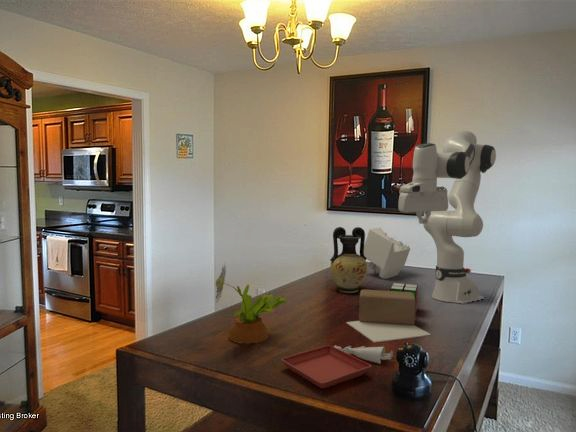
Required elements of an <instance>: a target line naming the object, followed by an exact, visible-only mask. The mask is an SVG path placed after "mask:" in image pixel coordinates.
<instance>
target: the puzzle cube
mask: <svg viewBox="0 0 576 432" xmlns="http://www.w3.org/2000/svg"><path fill="white" fill-rule="evenodd" d="M389 291H395V292H411V293H413V294H414V297H415V300H416V309H415V316H416V315H417V310H418V296H419V295H418V294H419V293H418V292H419V285H417V284H409V283H406V284H405V283H400V282H399V283H397V282H394V283H392V284H391V287H390V290H389Z"/></svg>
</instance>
